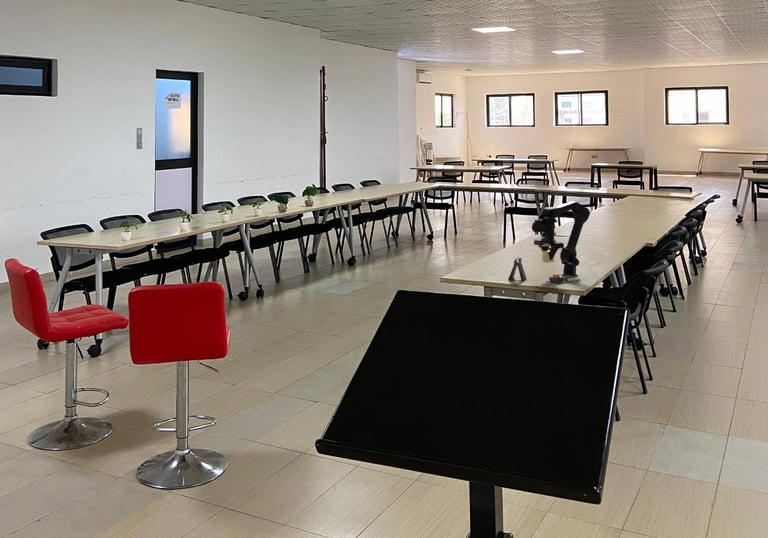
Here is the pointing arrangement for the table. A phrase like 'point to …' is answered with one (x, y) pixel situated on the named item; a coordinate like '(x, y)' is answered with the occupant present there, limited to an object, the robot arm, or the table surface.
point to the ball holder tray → (563, 279)
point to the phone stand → (521, 271)
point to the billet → (546, 256)
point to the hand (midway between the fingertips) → (548, 259)
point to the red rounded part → (556, 275)
